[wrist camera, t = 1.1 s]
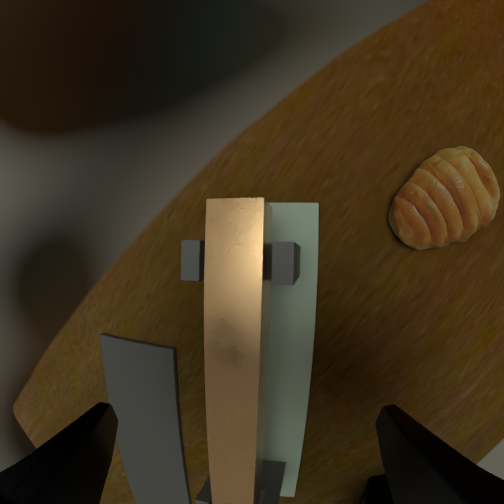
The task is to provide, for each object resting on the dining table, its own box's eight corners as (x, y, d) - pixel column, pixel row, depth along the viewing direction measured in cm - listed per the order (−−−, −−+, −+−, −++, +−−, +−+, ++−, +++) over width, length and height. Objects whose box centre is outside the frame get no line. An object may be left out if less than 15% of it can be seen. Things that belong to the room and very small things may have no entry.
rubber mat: (196, 530, 22) (195, 532, 22) (141, 511, 24) (139, 513, 24) (175, 348, 23) (172, 349, 22) (103, 333, 24) (100, 334, 24)
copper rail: (258, 516, 16) (251, 539, 13) (225, 511, 16) (215, 532, 14) (272, 207, 16) (263, 197, 13) (223, 208, 17) (206, 199, 14)
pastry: (410, 273, 19) (429, 276, 15) (368, 193, 20) (378, 180, 16) (491, 216, 17) (516, 209, 14) (453, 144, 18) (472, 126, 15)
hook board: (295, 490, 20) (285, 545, 13) (214, 479, 22) (186, 527, 15) (318, 205, 20) (320, 178, 13) (211, 206, 22) (164, 184, 15)
